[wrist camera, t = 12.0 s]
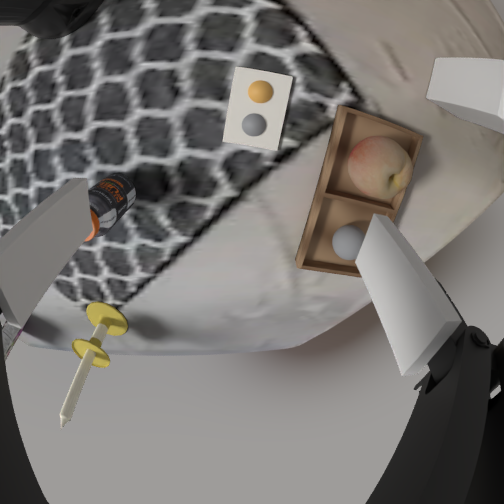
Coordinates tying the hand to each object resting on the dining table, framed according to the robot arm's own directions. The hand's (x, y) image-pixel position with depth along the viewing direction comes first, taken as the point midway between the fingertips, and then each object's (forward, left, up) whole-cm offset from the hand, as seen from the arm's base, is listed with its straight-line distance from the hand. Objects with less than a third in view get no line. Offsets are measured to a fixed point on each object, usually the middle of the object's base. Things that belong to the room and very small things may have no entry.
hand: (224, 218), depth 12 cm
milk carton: (-15, +27, -26) cm, 40 cm away
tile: (-3, +1, -25) cm, 26 cm away
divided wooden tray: (+6, +17, -25) cm, 31 cm away
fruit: (0, +17, -25) cm, 30 cm away
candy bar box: (+52, -56, -26) cm, 80 cm away
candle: (+40, -23, -26) cm, 53 cm away
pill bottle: (+11, -17, -26) cm, 33 cm away
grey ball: (+11, +17, -25) cm, 32 cm away
